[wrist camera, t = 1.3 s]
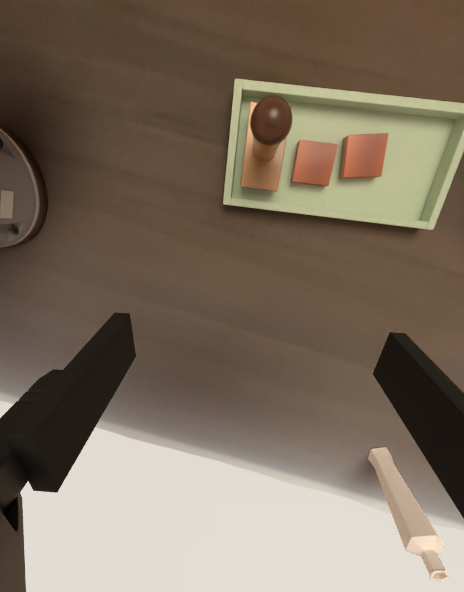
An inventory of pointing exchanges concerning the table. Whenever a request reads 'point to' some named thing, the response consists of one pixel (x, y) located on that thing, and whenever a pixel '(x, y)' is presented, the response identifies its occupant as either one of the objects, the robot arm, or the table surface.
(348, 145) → the orange square block
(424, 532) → the perfume bottle
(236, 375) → the table surface
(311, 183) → the chip
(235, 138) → the tray
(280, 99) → the wooden handle stamp
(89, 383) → the robot arm
